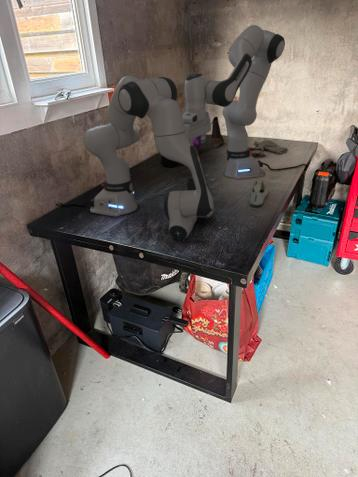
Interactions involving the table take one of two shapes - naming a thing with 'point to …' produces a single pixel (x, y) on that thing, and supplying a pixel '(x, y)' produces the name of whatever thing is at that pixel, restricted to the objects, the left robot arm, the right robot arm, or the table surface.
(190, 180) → the black cylinder
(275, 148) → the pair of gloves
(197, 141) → the decorative orb
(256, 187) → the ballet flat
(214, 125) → the boot
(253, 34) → the right robot arm
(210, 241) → the table surface
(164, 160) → the handbag
